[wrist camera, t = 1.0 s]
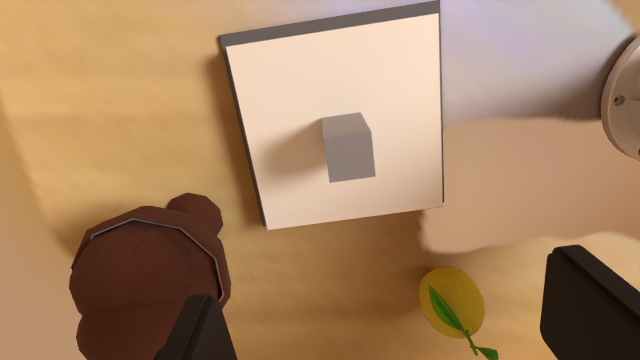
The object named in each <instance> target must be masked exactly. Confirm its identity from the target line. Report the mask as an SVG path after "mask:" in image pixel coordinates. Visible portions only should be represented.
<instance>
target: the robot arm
mask: <svg viewBox="0 0 640 360" xmlns="http://www.w3.org/2000/svg"><path fill="white" fill-rule="evenodd" d="M601 120H602V124H603V128H604V131H605V133H606V135H607V137H608V139H609V140H610V142H611V143H612V144H613V145H614V146H615V147H616V148H617V149H618V150H620V151H621V152H622V153H624V154H625V155H627V156H630V157H632V158H634V159H637V160H639V161H640V35H639V36H637V37H636V38H635V39H634V40H633V41H632V42H631V43H630V44H629V45H628V47H627V48H626V49H625V50H624V52H623V53H622V54H621V56H620V57H619V58H618V60H617V61H616V63H615V65H614V67H613V68H612V70H611V72H610V74H609V76H608V79H607V81H606V84H605V87H604V90H603V95H602V100H601ZM540 332H541V335H542V338H543V340H544V341H545V343H546V344H547V346H548V347H549V348H550V350H551V351H552V352H553V354H554V355H555V356H556V358H557V359H558V360H640V292H639V291H638V290H637V289H635V288H634V287H633V286H631V285H630V284H629V283H628V282H626V281H625V280H624V279H623V278H621V277H620V276H619V275H618V274H616V273H615V272H614V271H613V270H611V269H610V268H609V267H608V266H606V265H605V264H604V263H602V262H601V261H600V260H599V259H597V258H596V257H595V256H594V255H592V254H591V253H590V252H589V251H587V250H586V249H585V248H584V247H582V246H580V245H570V246H562V247H556V248H554V250H553V252H552V253H551V254H549V255H548V257H547V264H546V274H545V283H544V293H543V303H542V312H541V322H540ZM153 360H237V357H236V354H235V350H234V347H233V344H232V341H231V338H230V334H229V331H228V328H227V325H226V322H225V318H224V315H223V312H222V309H221V306H220V302H219V300H218V298H217V297H212V295H211V294H210V293H202V294H194V295H189V296H188V297H187V299H186V301H185V303H184V305H183V307H182V309H181V312H180V314H179V316H178V318H177V320H176V322H175V324H174V326H173V328H172V330H171V332H170V334H169V336H168V339H167V341H166V343H165V345H164V347H162V348H160V349H159V350H158V352H157V353H156V355H155V356H154V358H153Z"/></svg>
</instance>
